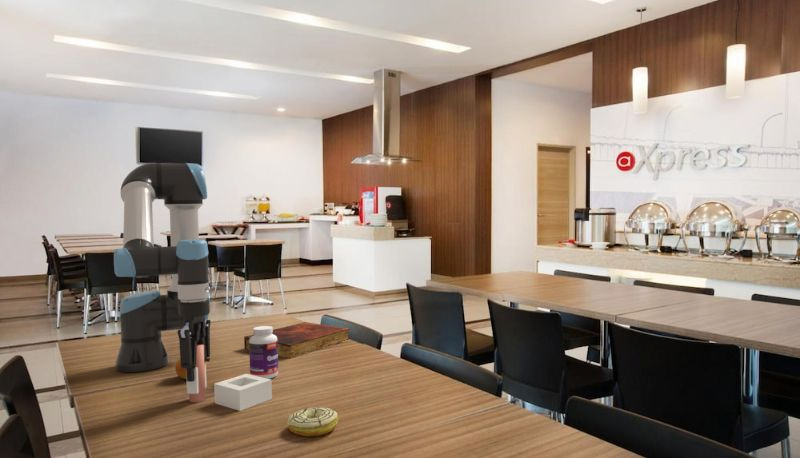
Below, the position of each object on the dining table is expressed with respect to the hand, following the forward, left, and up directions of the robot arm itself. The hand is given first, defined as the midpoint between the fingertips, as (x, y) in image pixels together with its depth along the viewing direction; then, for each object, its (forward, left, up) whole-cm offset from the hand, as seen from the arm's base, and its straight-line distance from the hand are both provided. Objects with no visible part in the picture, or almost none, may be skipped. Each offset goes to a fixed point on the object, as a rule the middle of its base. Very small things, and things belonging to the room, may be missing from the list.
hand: (196, 389), depth 140 cm
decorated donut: (+39, +3, -3) cm, 39 cm away
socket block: (+11, +6, -3) cm, 13 cm away
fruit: (-19, +11, -3) cm, 22 cm away
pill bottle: (-1, +23, -3) cm, 23 cm away
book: (-21, +56, -3) cm, 60 cm away
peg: (0, 0, -3) cm, 3 cm away
